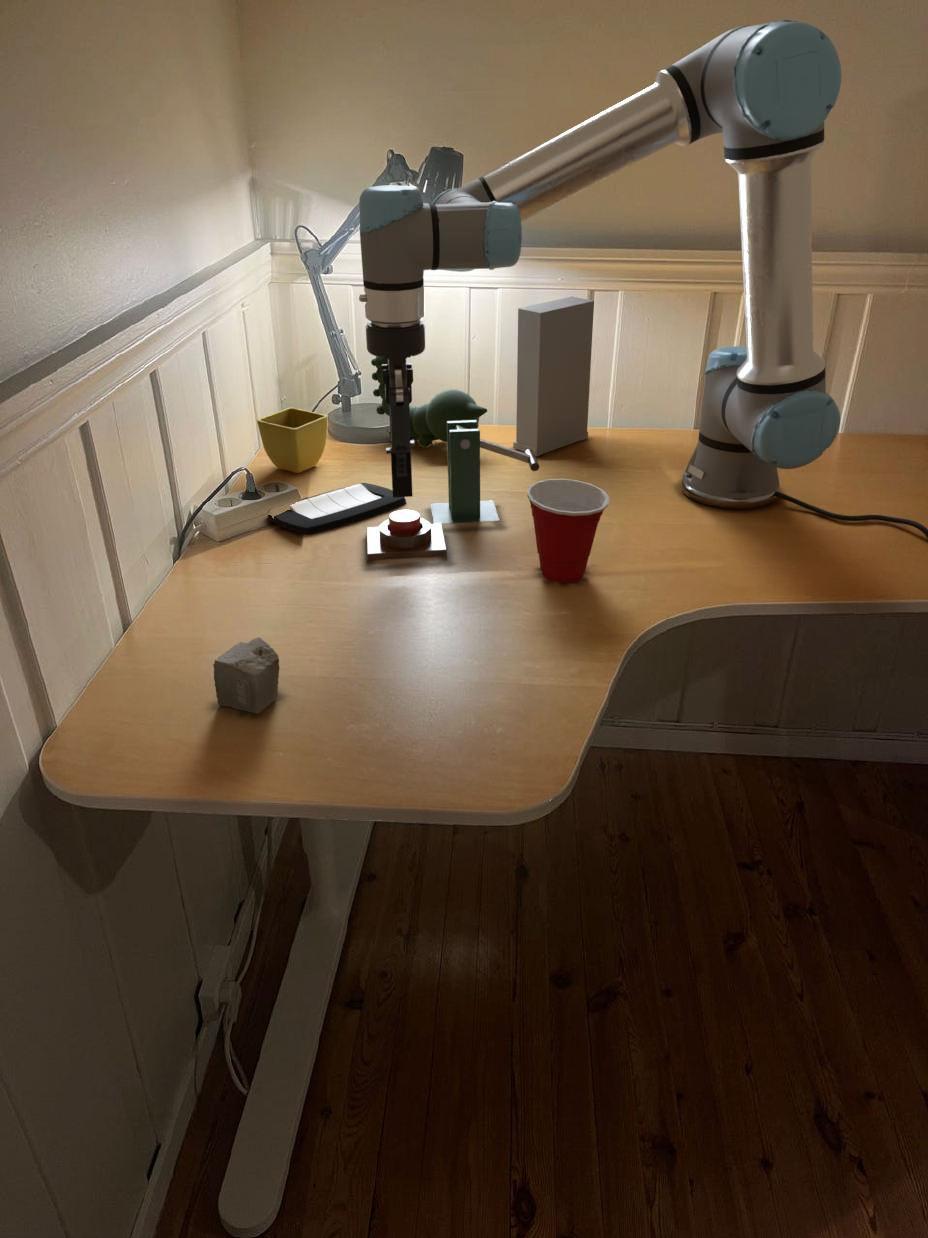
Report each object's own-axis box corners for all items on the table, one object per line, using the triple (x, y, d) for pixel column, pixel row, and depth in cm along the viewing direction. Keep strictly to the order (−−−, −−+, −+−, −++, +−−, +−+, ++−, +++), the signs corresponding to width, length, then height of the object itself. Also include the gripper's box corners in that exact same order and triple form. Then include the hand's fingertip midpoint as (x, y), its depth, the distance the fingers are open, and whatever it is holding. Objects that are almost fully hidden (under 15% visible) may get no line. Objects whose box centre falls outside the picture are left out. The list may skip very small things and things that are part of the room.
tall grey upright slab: (563, 431, 180) (568, 295, 167) (587, 439, 176) (595, 300, 163) (512, 449, 172) (513, 307, 159) (536, 457, 168) (540, 313, 155)
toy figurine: (369, 447, 178) (474, 464, 163) (356, 345, 169) (465, 353, 155) (402, 434, 184) (506, 449, 170) (391, 335, 176) (498, 341, 161)
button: (419, 521, 135) (419, 508, 134) (421, 534, 131) (421, 521, 130) (389, 523, 135) (388, 510, 134) (390, 536, 131) (389, 522, 130)
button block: (441, 536, 139) (441, 511, 137) (447, 563, 131) (446, 537, 129) (367, 540, 138) (365, 515, 136) (368, 568, 131) (366, 542, 129)
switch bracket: (493, 507, 149) (493, 415, 141) (500, 527, 142) (500, 433, 134) (430, 510, 148) (427, 418, 140) (433, 531, 141) (430, 436, 133)
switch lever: (529, 461, 144) (535, 447, 143) (536, 475, 139) (542, 461, 138) (449, 435, 141) (455, 420, 140) (453, 449, 136) (459, 433, 135)
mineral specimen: (197, 718, 99) (194, 646, 97) (247, 691, 107) (244, 623, 104) (256, 732, 96) (254, 659, 94) (302, 703, 104) (301, 634, 102)
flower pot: (333, 464, 166) (328, 414, 161) (300, 480, 160) (294, 428, 155) (295, 455, 170) (290, 406, 166) (261, 470, 164) (255, 420, 159)
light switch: (363, 474, 156) (413, 490, 146) (365, 490, 158) (415, 508, 148) (257, 504, 146) (303, 525, 136) (260, 522, 147) (305, 543, 137)
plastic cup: (594, 598, 122) (599, 513, 116) (514, 585, 125) (516, 502, 119) (612, 563, 131) (618, 482, 125) (537, 552, 134) (540, 472, 128)
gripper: (364, 310, 124) (374, 478, 136) (365, 333, 113) (376, 514, 125) (421, 308, 125) (426, 476, 136) (428, 331, 113) (432, 512, 125)
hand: (402, 494), depth 130 cm, fingers closed
